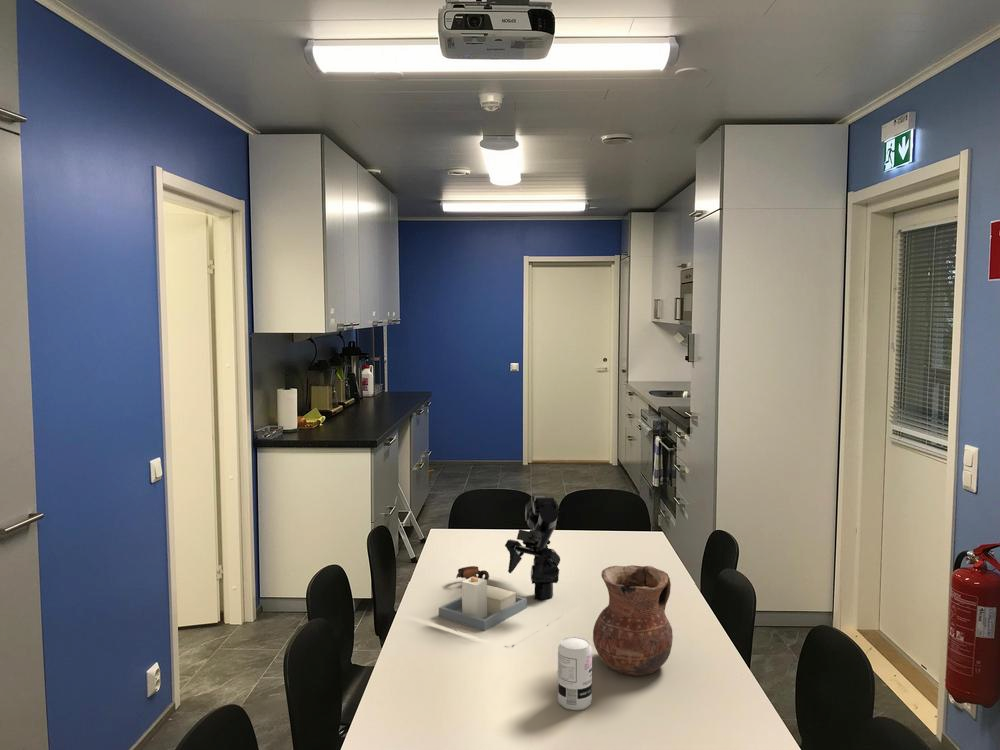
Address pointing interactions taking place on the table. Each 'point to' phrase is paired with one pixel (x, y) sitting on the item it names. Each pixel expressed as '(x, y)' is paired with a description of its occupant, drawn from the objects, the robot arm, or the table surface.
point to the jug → (634, 620)
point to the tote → (455, 614)
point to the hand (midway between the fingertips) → (520, 575)
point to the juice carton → (474, 597)
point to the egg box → (499, 599)
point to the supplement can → (574, 673)
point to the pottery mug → (472, 573)
